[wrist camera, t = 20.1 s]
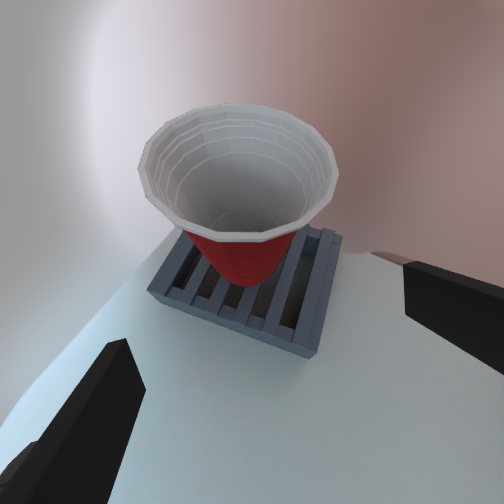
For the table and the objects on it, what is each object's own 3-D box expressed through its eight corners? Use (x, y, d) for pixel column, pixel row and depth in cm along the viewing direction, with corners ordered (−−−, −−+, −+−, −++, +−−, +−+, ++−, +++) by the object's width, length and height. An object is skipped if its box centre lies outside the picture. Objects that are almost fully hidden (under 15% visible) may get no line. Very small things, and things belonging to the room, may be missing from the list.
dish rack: (159, 302, 25) (144, 288, 22) (209, 218, 31) (202, 196, 28) (309, 359, 22) (317, 352, 19) (333, 253, 28) (343, 233, 24)
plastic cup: (301, 326, 20) (345, 250, 10) (177, 304, 21) (97, 217, 11) (309, 222, 25) (343, 103, 15) (210, 210, 27) (178, 92, 16)
